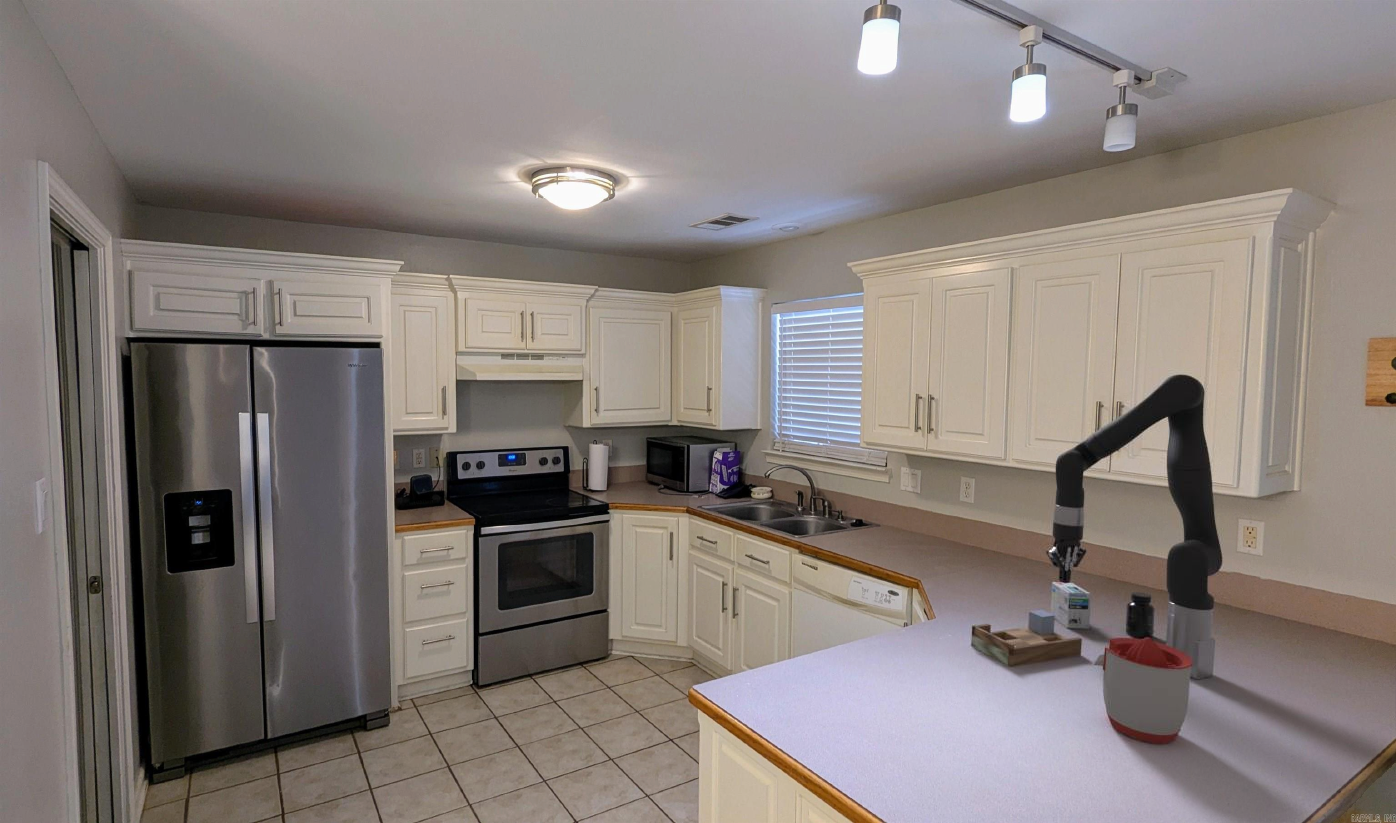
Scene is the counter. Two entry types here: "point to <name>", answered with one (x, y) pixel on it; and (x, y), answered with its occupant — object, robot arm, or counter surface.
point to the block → (1041, 622)
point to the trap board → (1023, 645)
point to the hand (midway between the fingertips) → (1064, 582)
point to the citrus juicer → (1145, 688)
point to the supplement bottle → (1140, 616)
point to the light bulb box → (1070, 605)
